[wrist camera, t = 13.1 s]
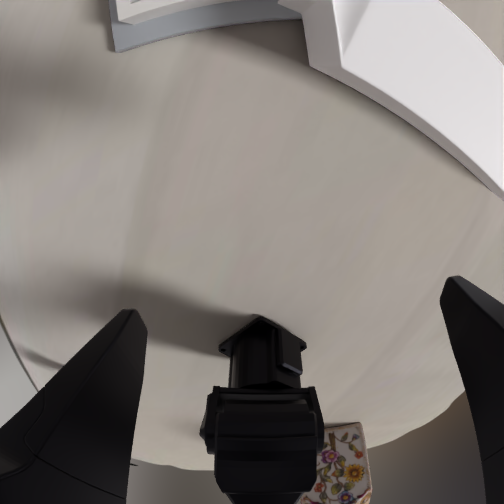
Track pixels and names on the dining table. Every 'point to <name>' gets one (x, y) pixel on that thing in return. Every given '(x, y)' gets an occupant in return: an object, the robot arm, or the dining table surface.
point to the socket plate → (185, 18)
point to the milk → (416, 72)
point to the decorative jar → (342, 468)
